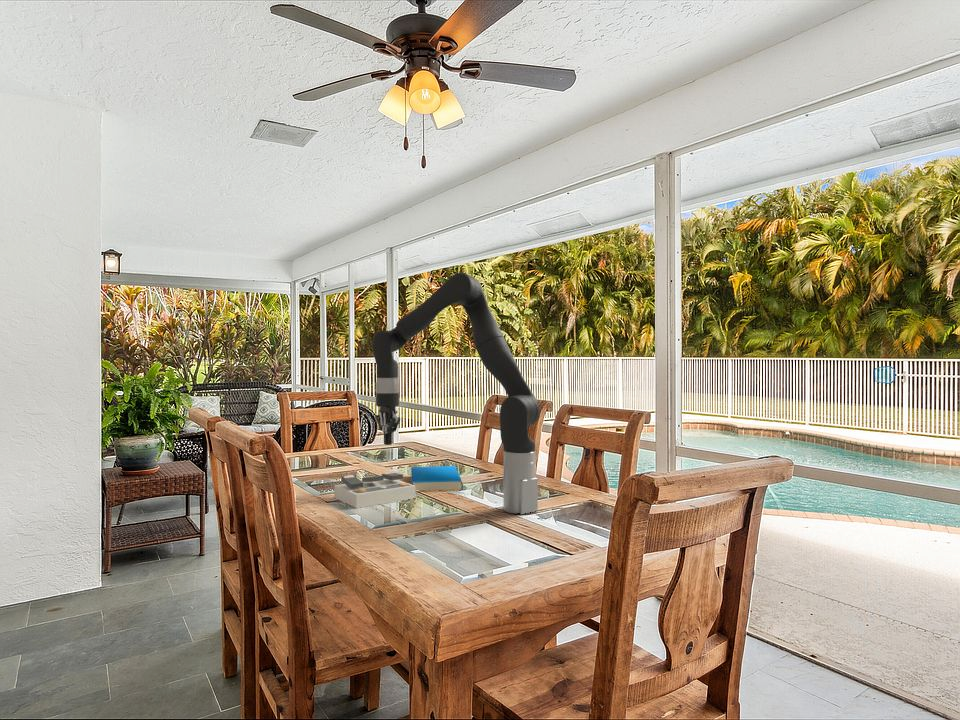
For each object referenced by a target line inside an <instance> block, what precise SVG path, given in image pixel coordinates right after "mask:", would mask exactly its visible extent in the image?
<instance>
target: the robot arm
mask: <svg viewBox="0 0 960 720" xmlns="http://www.w3.org/2000/svg"><path fill="white" fill-rule="evenodd" d="M456 303H457V304H459V305H461V306H462V308H463V310H464V311H465V313H466V315H467V317H468V318H469V319H468V320H469V321H470V324H471V327H472V339H473V343H474V347H475V350H476V351H477V353H478V356H479V359H480V360H481V363H482V364H483V366H484V368H485V369H486V370H487V371H488V372H489V373H490V374H491V376H493V377H494V378H495V379H496V380H497V381H498V382H499V383H500V385H501V386H502V387H503V389H504V391H505V393H506V395H507V397H506V398H505V399H504V400H503V401H502V403H501V405H500V408H499V426H500V427H499V428H500V429H499V431H500V432H499V433H500V439H501V443H502V445H503V446H502V447H503V463H502V464H503V471H502V472H503V483H502V484H503V485H502V486H503V487H502V489H503V494H502V495H503V497H502V498H503V499H502V500H503V511H504V512H507V513H511V514H517V513H520V514H519V515H525V513H526V514H530V512H531V513H535V511H536V512H538V509H539V508H538V498H539V497H538V496H539V495H538V494H539V493H538V492H539V491H538V490H539V489H538V486H539V485H538V483H539V482H538V481H539V480H538V478H537V477H536V442H535V440H533V439H531V438H530V436H529V426H530V427H531V426H533V425H535V424H536V423H537V422H538V421H539V419H540V417H541V408H540V404H539V401H538V400H537V398H536V396H535V395H534V393H533V392H532V389H531V388H530V387H529V385H528V383H527V381H526V380H525V378H524V376H523V375H522V372H521V370H520V368H519V366H518V364H517V361H516V360H515V358H514V356H513V354H512V352H511V348H510V346H509V344H508V342H507V340H506V337H505V336H504V334H503V333H502V330H501V329H500V327H499V324H498V322H497V320H496V318H495V317H494V315H493V313H492V311H491V309H490V306H489V303H488V301H487V298H486V295H485V291H484V289H483V286H482V285H481V283H480V281H479V280H478V279H476V278H475V277H473V276H472V275H469V274H468V273H465V272H458V273H455V274H453V275H452V276H450V277H449V278H448V279H447V280H445V282H444V283H442V285H441V286H439V287H438V289H436V290H435V291H434V292H433V293H432V294H431V295H430V296H429V297H428V298H427V299H426V300H425V301H424V302H423V303H421V304H420V305H418V306H417V307H416V308H414V309H413V310H412V311H409V312H408V313H407V314H405V315H404V316H403V317H402V318H399V320H398V321H397V322H396V326H395V327H394V328H392V329H391V330H387V329H385V330H384V329H381V330H379V331H377V332H375V333H374V335H373V337H372V341H371V347H372V352H373V357H374V361H375V364H376V379H375V380H376V381H375V406H376V407H379V411H378V412H379V413H378V414H376V415H375V420H376V423H377V425H378V428H379V430H380V431H382V434H383V445H384V446H392V444H393V433H394V432H396V431H397V428H398V426H399V424H400V422H401V417H400V416H397V415H396V414H397V409H396V407H399V405H400V383H399V382H400V381H399V363H398V362H397V360H395V359H394V356H393V352H394V353H395V352H397V351H399V350H400V349H401V348H403V347H404V346H406V344H407V343H408V342H409V341H410V340H411V339H412V338H413V337H416V336H417V335H418V334H420V333H421V332H422V331H424V330H425V329H427V328H428V327H429V326H430V325H431V324H432V323H433V322H434V320H435V319H436V318H437V316H438V315H439V314H441V312H442V311H444V310H445V309H446V308H448V307H449V306H451V305H454V304H456Z"/></svg>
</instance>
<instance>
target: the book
mask: <svg viewBox="0 0 960 720" xmlns="http://www.w3.org/2000/svg"><path fill="white" fill-rule="evenodd" d="M410 469H411V470H410V471H411V483H412V484H413V485H415V486H416V490H425V491H424V492H427V491H426V490H452V491H462V490H463V488H464V485H463V481H462V478H461V476H460V474H459V472H458V470H457V467H456V466H455V465H452V466H451V465H449V466H448V465H447V466H443V465H442V466H440V465H439V466H411V467H410ZM461 489H462V490H461Z"/></svg>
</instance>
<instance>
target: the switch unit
mask: <svg viewBox="0 0 960 720" xmlns="http://www.w3.org/2000/svg"><path fill="white" fill-rule="evenodd" d="M333 486H334V495H333V496H334V499H336V500H338V501H340V502H342V503H344V504H346V503H347V504H346V505H348V504H349V506H350V505H351V507H352V508H354V509H361V508H360V507H362V508H365V506H368V507H373V505H374V506H379V505H378V504H380V505H386V504H390V503H397V501H398V502H403V500H404V501H409V500H408V499H410V500H414V499H413V498H417V497H416V492H417V491H416V486H415V485H412V484H411V483H408V482H405V481H402V480H401V479H398V480H388V479H384V480H381V481H374V482H363V487H361V488H354V489H350V488H349V487H348V486H347V485H346V484H344V483H342V484H340V483H339V484H335V485H333ZM385 503H386V504H385Z"/></svg>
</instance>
